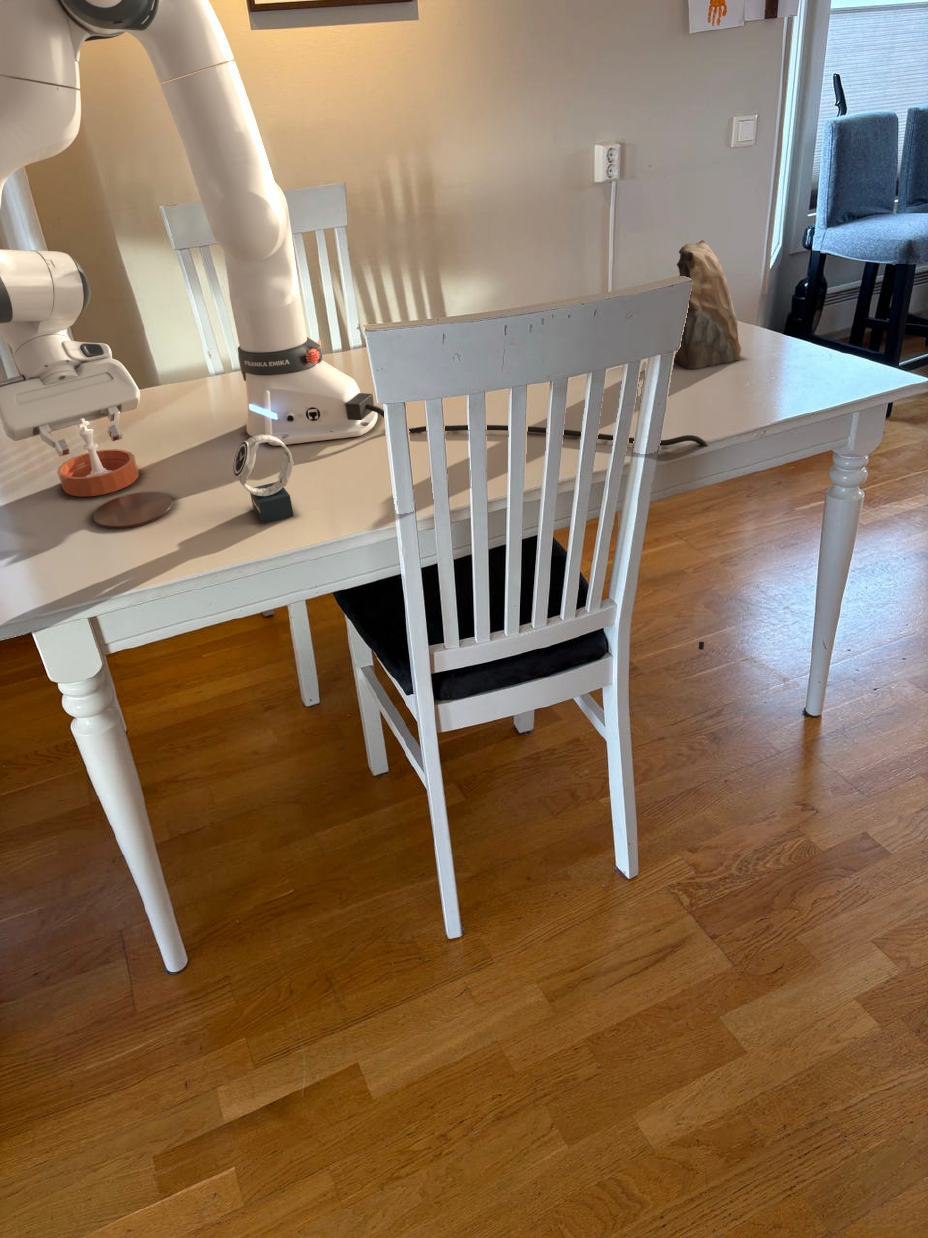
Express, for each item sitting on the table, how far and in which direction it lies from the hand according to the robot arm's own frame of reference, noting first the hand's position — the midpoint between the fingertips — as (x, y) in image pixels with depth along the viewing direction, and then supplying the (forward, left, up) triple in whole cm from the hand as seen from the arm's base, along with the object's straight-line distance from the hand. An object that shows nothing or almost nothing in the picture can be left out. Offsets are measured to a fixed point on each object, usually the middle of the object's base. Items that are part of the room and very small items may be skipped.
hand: (91, 445), depth 136 cm
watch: (-30, +13, -6) cm, 33 cm away
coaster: (-9, +10, -6) cm, 15 cm away
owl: (-100, -46, -6) cm, 110 cm away
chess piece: (0, 0, -6) cm, 6 cm away
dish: (0, 0, -6) cm, 6 cm away
